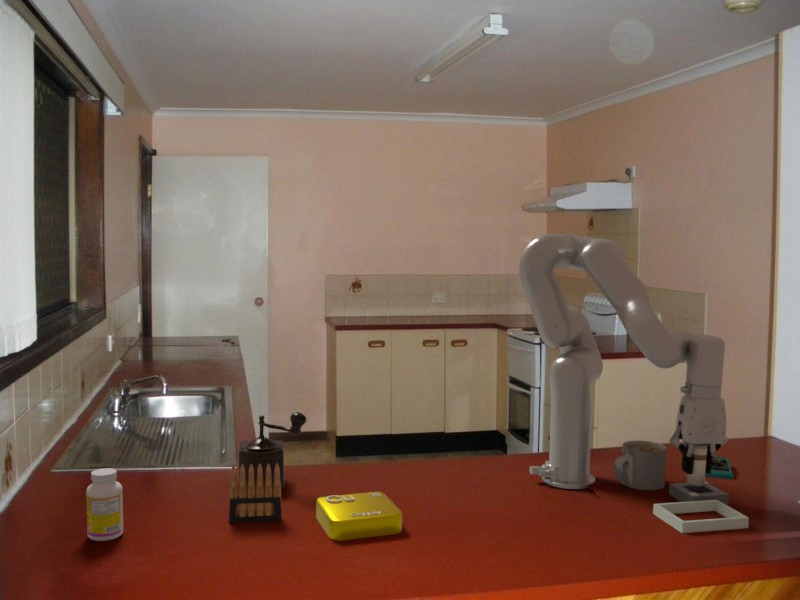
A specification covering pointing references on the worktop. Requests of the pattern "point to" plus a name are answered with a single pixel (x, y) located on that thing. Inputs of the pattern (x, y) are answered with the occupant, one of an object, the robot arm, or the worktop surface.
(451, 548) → the worktop surface
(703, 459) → the cylinder
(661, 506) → the parts tray
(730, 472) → the digital multimeter
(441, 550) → the worktop surface
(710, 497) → the fuse holder
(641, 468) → the coffee mug
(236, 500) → the ammunition clip
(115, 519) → the supplement bottle
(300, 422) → the manual coffee grinder
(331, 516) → the element tile
